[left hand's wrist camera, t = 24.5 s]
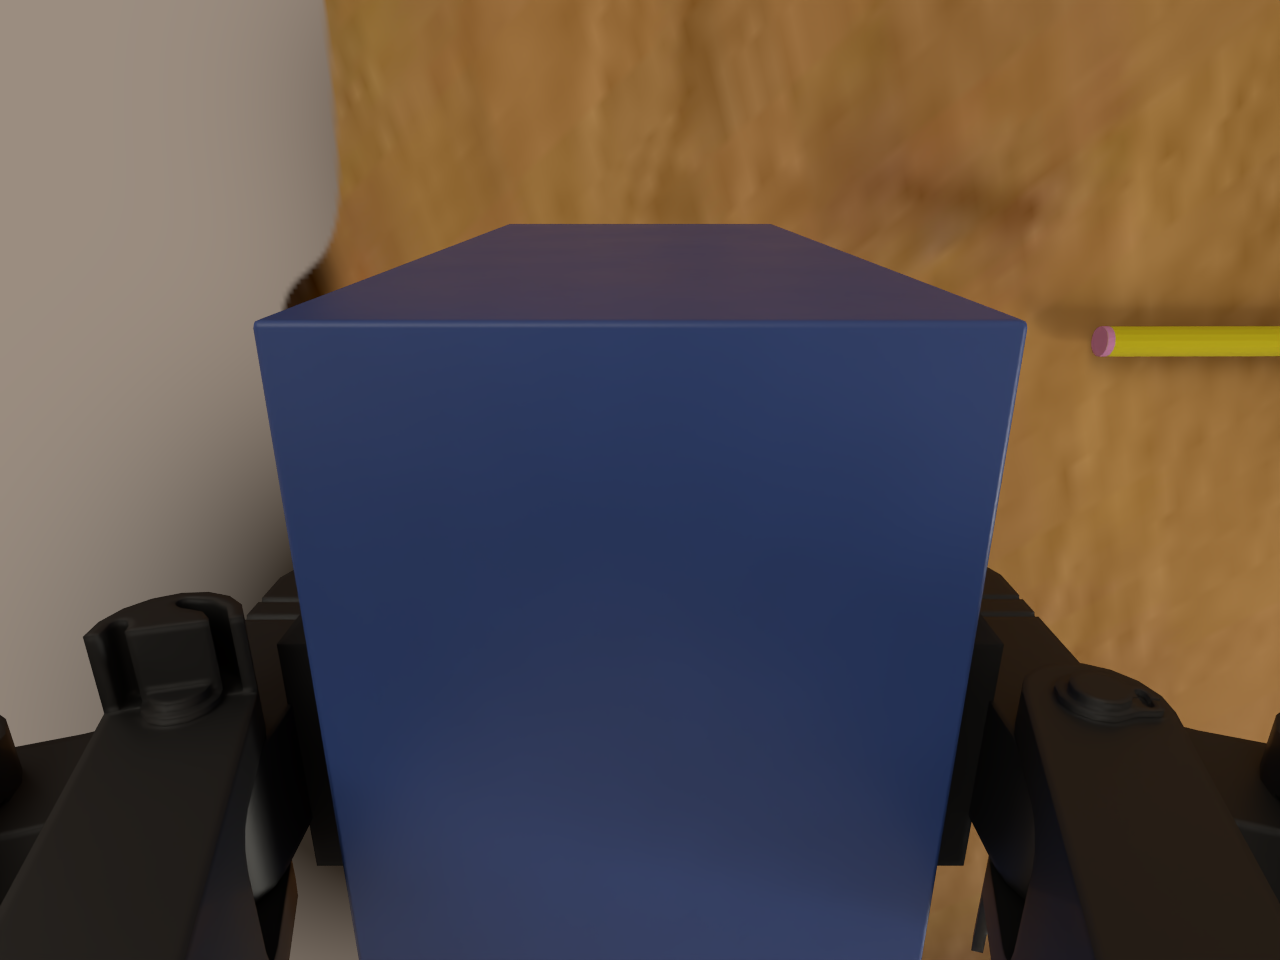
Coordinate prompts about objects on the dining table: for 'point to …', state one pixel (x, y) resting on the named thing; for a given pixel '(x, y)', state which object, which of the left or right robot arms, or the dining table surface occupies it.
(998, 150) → the dining table surface
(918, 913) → the block
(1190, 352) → the pencil
